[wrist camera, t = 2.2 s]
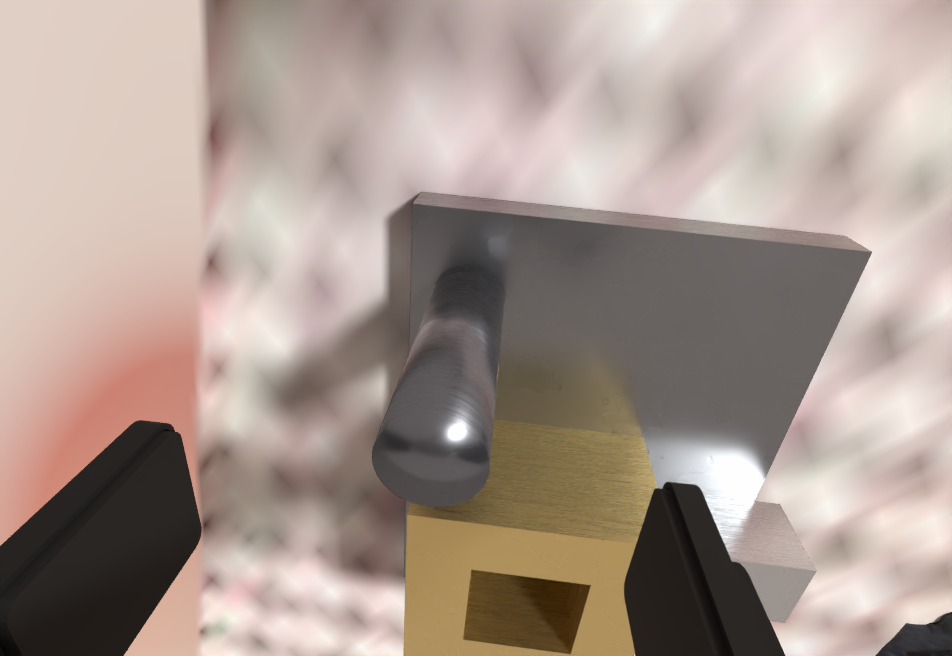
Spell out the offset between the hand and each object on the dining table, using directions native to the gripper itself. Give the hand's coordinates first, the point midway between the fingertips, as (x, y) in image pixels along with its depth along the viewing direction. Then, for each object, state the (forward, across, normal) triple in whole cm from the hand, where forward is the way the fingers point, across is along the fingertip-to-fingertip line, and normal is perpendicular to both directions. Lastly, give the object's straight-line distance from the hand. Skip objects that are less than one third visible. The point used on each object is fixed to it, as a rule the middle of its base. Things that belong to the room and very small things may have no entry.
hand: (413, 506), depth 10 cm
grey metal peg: (+8, 0, -1) cm, 9 cm away
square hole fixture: (+10, -5, +5) cm, 12 cm away
